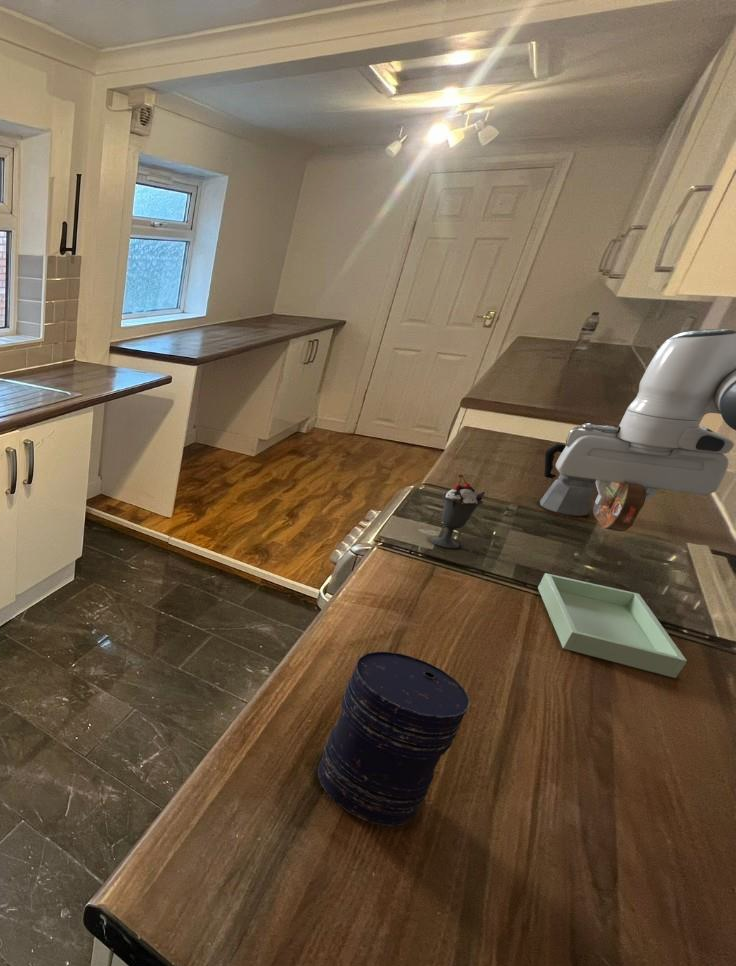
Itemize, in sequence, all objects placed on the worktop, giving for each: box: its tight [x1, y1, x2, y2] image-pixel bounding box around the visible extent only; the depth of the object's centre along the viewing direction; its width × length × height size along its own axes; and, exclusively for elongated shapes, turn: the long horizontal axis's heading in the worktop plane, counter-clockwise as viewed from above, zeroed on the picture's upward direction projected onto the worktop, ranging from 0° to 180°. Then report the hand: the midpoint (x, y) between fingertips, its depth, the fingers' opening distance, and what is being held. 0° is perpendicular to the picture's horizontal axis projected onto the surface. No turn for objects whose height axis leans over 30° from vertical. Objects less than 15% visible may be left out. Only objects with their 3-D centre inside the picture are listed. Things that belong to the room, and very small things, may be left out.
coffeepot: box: [539, 443, 596, 517], centre depth 136 cm, size 15×9×18 cm, turn 79°
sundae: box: [430, 474, 486, 550], centre depth 117 cm, size 7×7×15 cm
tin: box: [592, 481, 646, 532], centre depth 103 cm, size 15×3×8 cm, turn 146°
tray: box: [537, 572, 688, 679], centre depth 93 cm, size 13×22×3 cm, turn 149°
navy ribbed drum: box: [317, 651, 470, 827], centre depth 60 cm, size 10×10×15 cm
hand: (615, 506), depth 103 cm, fingers closed on tin, 2 cm apart
